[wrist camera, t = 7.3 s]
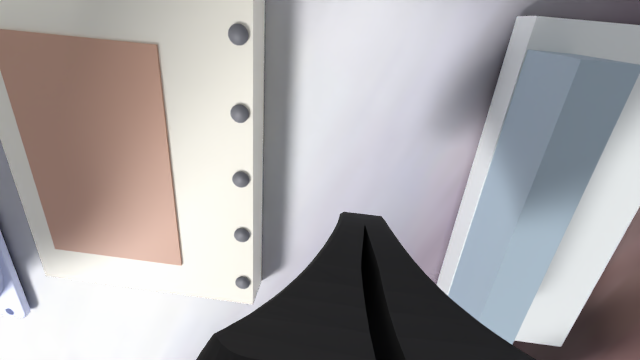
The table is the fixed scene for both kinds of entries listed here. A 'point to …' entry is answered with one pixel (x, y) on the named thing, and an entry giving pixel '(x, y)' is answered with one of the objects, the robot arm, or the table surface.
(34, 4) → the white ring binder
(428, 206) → the table surface
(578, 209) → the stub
